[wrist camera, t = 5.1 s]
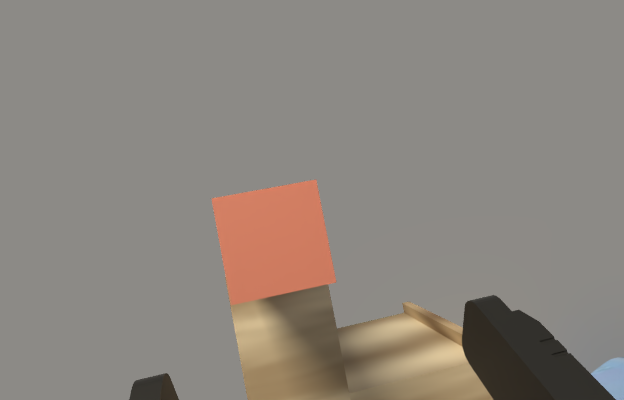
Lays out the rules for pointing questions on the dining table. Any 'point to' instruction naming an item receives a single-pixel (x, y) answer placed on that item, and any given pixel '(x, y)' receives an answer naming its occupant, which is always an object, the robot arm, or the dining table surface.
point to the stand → (349, 353)
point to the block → (273, 241)
